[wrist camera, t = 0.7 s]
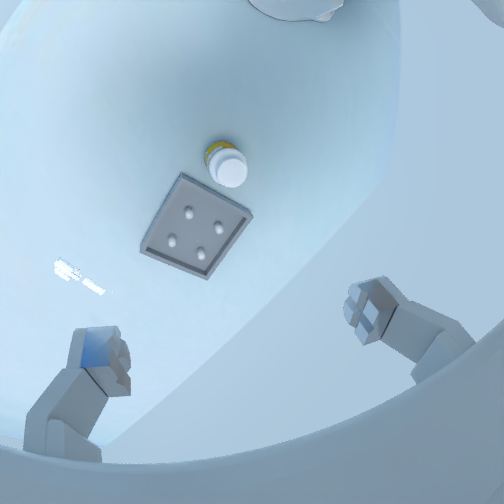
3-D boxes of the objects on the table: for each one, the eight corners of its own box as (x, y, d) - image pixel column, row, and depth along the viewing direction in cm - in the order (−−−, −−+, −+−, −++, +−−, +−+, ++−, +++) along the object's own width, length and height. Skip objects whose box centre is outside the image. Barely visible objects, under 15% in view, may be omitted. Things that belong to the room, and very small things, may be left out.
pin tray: (181, 172, 41) (181, 179, 38) (249, 211, 48) (255, 219, 45) (140, 244, 46) (139, 255, 43) (205, 272, 53) (208, 283, 50)
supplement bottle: (243, 157, 42) (261, 175, 35) (218, 178, 43) (229, 201, 36) (223, 133, 39) (236, 144, 32) (197, 155, 40) (202, 172, 32)
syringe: (140, 300, 53) (139, 305, 52) (129, 313, 54) (129, 318, 53) (59, 252, 42) (56, 257, 41) (51, 268, 43) (49, 273, 42)
